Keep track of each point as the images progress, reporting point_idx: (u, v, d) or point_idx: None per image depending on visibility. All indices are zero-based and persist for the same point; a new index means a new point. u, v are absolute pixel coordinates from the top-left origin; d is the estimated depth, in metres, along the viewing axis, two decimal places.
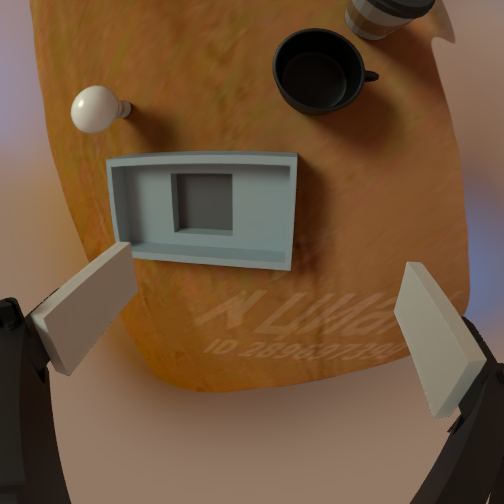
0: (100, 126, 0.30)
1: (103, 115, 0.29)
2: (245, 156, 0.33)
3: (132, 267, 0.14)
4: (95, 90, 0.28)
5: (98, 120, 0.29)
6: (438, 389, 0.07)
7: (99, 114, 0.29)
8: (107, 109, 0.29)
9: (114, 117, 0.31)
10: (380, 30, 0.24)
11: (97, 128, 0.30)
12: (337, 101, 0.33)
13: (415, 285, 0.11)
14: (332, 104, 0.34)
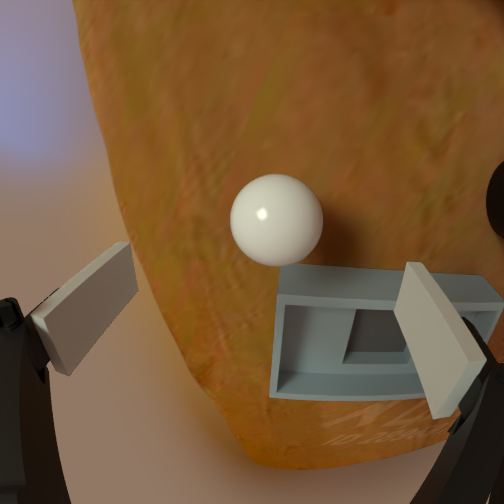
0: (299, 260, 0.20)
1: (313, 247, 0.19)
2: (467, 303, 0.23)
3: (132, 267, 0.14)
4: (300, 195, 0.18)
5: (303, 256, 0.19)
6: (438, 389, 0.07)
7: (309, 247, 0.19)
8: (319, 235, 0.19)
9: None
10: None
11: (292, 263, 0.20)
12: None
13: (415, 285, 0.11)
14: None
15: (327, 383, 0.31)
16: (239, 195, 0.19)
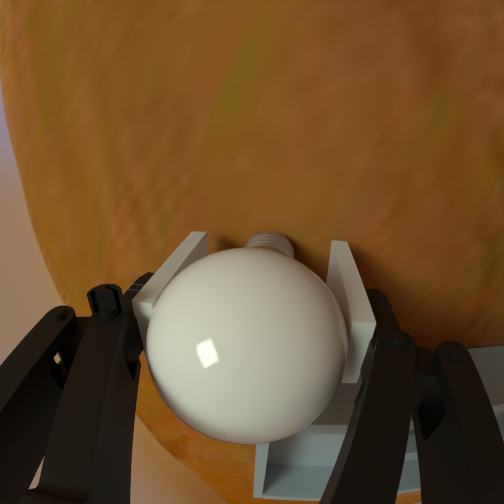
0: None
1: None
2: None
3: None
4: (298, 330, 0.07)
5: None
6: None
7: (313, 420, 0.08)
8: None
9: None
10: None
11: None
12: None
13: (334, 260, 0.13)
14: None
15: (328, 480, 0.20)
16: (156, 307, 0.08)
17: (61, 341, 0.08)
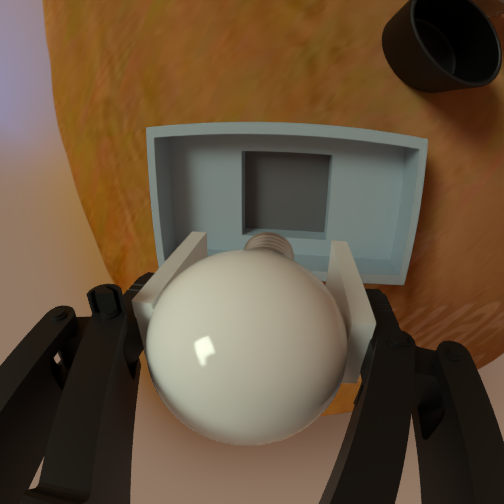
0: None
1: None
2: (365, 130, 0.21)
3: (206, 256, 0.15)
4: (298, 331, 0.07)
5: None
6: None
7: (312, 421, 0.08)
8: None
9: None
10: (497, 9, 0.13)
11: None
12: None
13: (334, 260, 0.13)
14: None
15: None
16: (156, 309, 0.08)
17: (61, 341, 0.08)
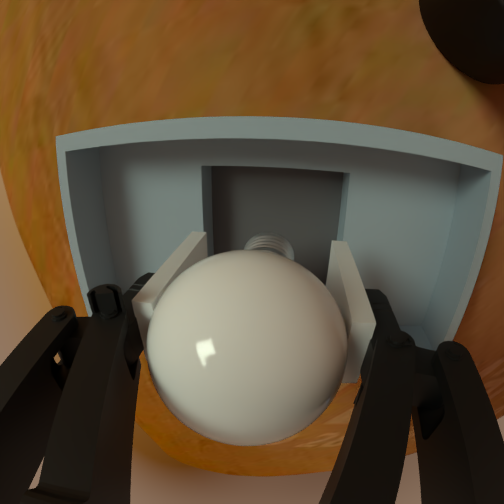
0: None
1: None
2: (412, 135, 0.11)
3: (206, 256, 0.15)
4: (298, 332, 0.07)
5: None
6: None
7: (313, 421, 0.08)
8: (336, 392, 0.08)
9: None
10: None
11: None
12: None
13: (334, 260, 0.13)
14: None
15: None
16: (157, 309, 0.08)
17: (61, 341, 0.08)
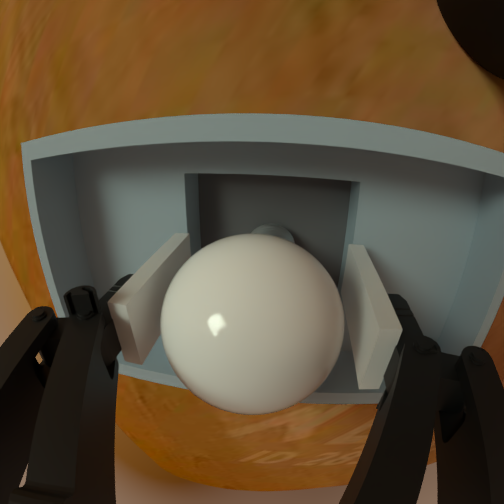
0: None
1: None
2: (439, 139, 0.09)
3: None
4: (299, 300, 0.08)
5: None
6: (362, 359, 0.09)
7: (313, 391, 0.09)
8: None
9: None
10: None
11: None
12: None
13: (352, 264, 0.13)
14: None
15: None
16: (172, 285, 0.09)
17: (42, 340, 0.07)
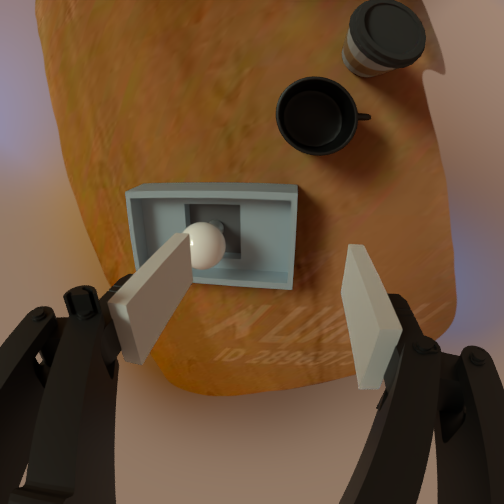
0: (213, 266, 0.39)
1: (217, 259, 0.38)
2: (252, 192, 0.38)
3: (189, 258, 0.15)
4: (207, 234, 0.37)
5: (213, 264, 0.38)
6: (362, 359, 0.09)
7: (214, 259, 0.38)
8: (221, 253, 0.38)
9: None
10: (373, 73, 0.29)
11: (209, 268, 0.39)
12: (334, 137, 0.39)
13: (352, 264, 0.13)
14: (329, 140, 0.39)
15: None
16: None
17: (42, 340, 0.07)
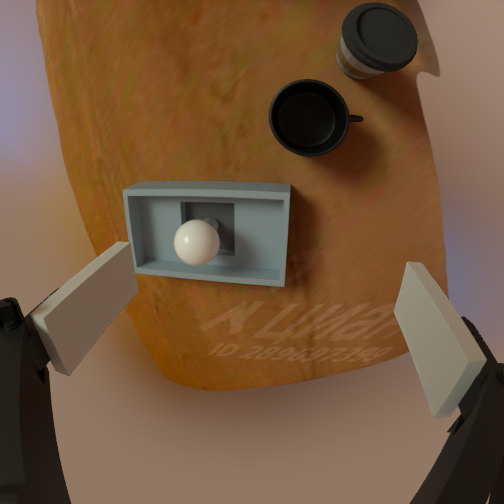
0: (207, 262, 0.41)
1: (212, 256, 0.39)
2: (245, 191, 0.39)
3: (132, 267, 0.14)
4: (202, 232, 0.38)
5: (207, 260, 0.39)
6: (438, 389, 0.07)
7: (209, 256, 0.39)
8: (215, 250, 0.39)
9: None
10: (366, 75, 0.30)
11: (204, 264, 0.40)
12: (327, 138, 0.40)
13: (415, 285, 0.11)
14: (322, 141, 0.40)
15: (172, 265, 0.47)
16: (177, 231, 0.39)
17: None
